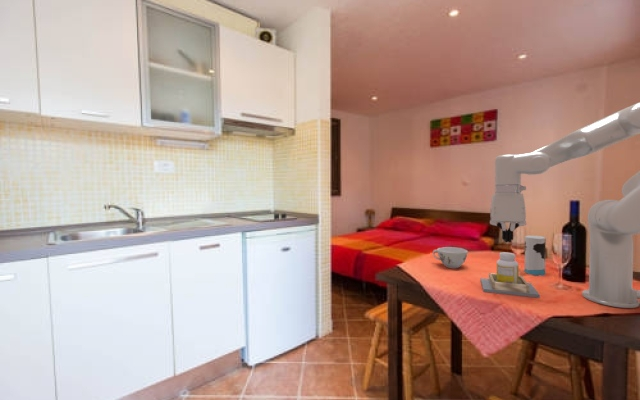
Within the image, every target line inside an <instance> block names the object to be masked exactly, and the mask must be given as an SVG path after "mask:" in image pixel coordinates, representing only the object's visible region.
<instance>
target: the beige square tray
mask: <svg viewBox="0 0 640 400" xmlns="http://www.w3.org/2000/svg"><path fill="white" fill-rule="evenodd" d="M488 279H489V282H490V284H491V287H492V289H495V290H504V291H514V292H523V293H529V285H528V283H529V282H527V281H526V279H525V278H524V277H523V276H522V275H519V283H520V284H513V283H503V282H495V281H497V273H491V272H488Z"/></svg>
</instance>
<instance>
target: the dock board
mask: <svg viewBox="0 0 640 400" xmlns="http://www.w3.org/2000/svg"><path fill="white" fill-rule="evenodd" d="M479 281H480V284H481V287H482V290H483V292H484V293H492V294H500V295H508V296H509V295H510V296H520V297H528V298H537V299H539V298H541V295H540V293H539V292H538V291H537V289H536V288H535V286H533V284H532V283H531V282H527V283H528V285H529V293H523V292H514V291H504V290H495V289H492V287H491V284H490V282H489V278H483V277H481V278H480V280H479ZM495 282H497V281H495ZM519 284H520V283H519Z"/></svg>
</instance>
